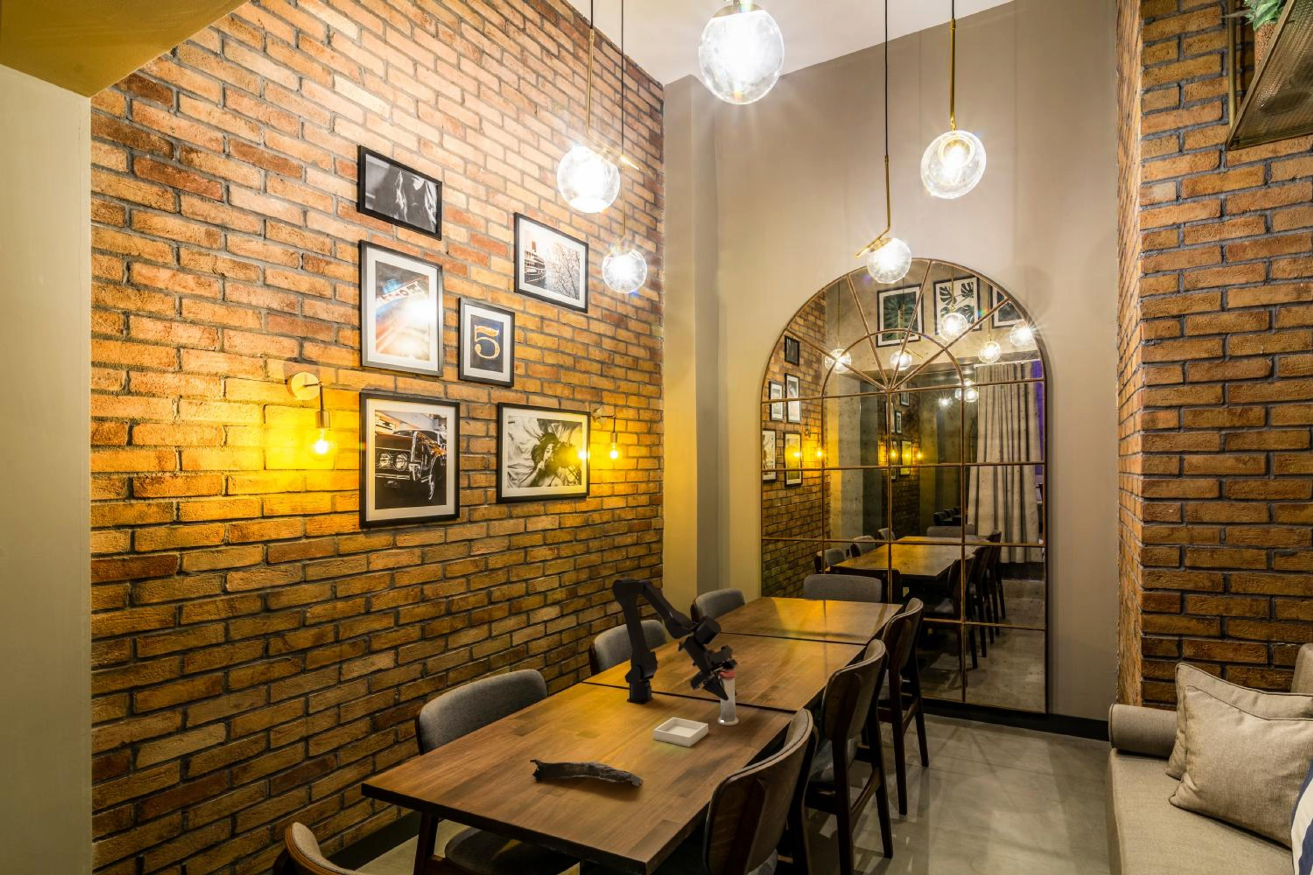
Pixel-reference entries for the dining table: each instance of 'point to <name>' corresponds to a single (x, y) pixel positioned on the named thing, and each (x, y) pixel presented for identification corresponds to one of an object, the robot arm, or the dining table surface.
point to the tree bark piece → (582, 771)
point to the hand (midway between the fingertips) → (731, 697)
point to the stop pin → (728, 706)
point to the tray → (680, 731)
